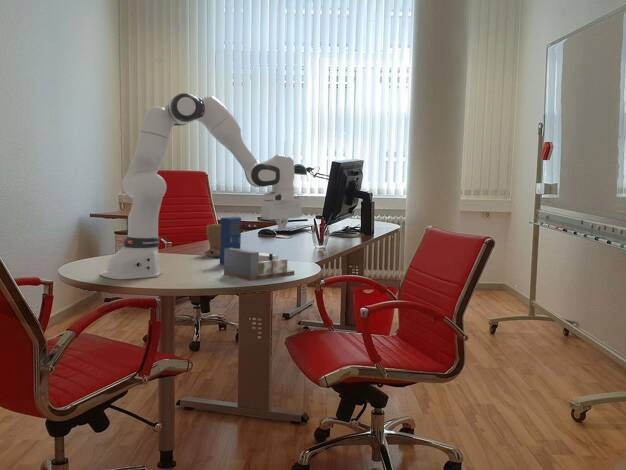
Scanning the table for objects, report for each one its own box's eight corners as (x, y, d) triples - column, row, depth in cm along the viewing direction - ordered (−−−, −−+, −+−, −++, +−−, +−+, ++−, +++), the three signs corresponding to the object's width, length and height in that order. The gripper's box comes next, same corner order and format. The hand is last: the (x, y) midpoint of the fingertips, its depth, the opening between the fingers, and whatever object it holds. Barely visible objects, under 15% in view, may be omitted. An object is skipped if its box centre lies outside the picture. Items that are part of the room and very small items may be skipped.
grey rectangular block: (250, 277, 242) (251, 253, 241) (223, 271, 252) (224, 248, 251) (258, 275, 245) (258, 252, 244) (231, 270, 255) (232, 247, 254)
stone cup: (213, 252, 313) (213, 221, 311) (235, 254, 309) (236, 223, 307) (197, 256, 298) (198, 223, 297) (220, 258, 294) (221, 225, 293)
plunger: (271, 272, 251) (272, 256, 250) (251, 268, 259) (251, 253, 258) (282, 271, 256) (283, 255, 255) (261, 267, 263) (262, 252, 263)
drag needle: (271, 260, 250) (271, 254, 249) (269, 259, 251) (269, 253, 250) (272, 260, 250) (272, 254, 250) (270, 259, 251) (270, 253, 251)
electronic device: (228, 265, 276) (229, 218, 273) (218, 264, 278) (219, 217, 276) (241, 263, 284) (242, 217, 282) (231, 261, 286) (232, 216, 284)
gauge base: (250, 280, 242) (250, 263, 241) (223, 275, 252) (224, 258, 251) (294, 274, 260) (294, 258, 259) (268, 269, 270) (268, 253, 269)
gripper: (294, 194, 272) (293, 227, 273) (259, 195, 256) (258, 230, 258) (305, 195, 267) (304, 229, 269) (270, 196, 252) (269, 231, 254)
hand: (281, 229), depth 263 cm, fingers closed
